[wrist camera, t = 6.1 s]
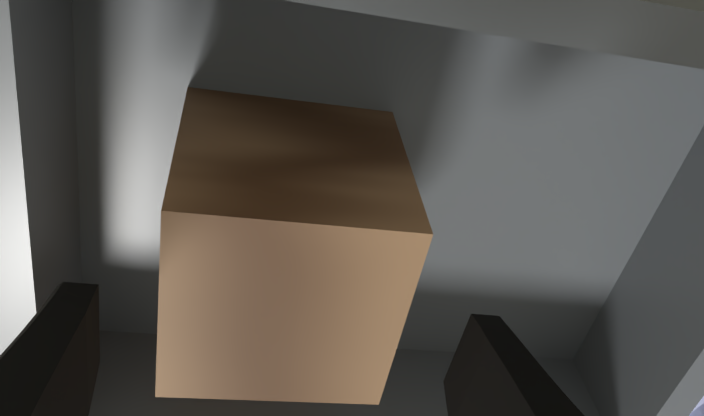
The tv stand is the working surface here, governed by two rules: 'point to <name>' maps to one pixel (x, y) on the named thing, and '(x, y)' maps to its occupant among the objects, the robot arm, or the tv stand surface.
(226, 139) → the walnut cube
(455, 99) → the tote
